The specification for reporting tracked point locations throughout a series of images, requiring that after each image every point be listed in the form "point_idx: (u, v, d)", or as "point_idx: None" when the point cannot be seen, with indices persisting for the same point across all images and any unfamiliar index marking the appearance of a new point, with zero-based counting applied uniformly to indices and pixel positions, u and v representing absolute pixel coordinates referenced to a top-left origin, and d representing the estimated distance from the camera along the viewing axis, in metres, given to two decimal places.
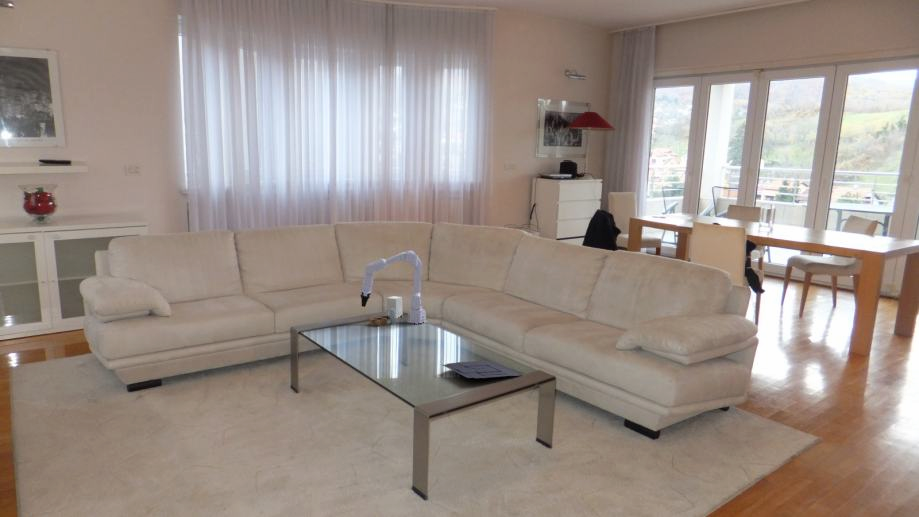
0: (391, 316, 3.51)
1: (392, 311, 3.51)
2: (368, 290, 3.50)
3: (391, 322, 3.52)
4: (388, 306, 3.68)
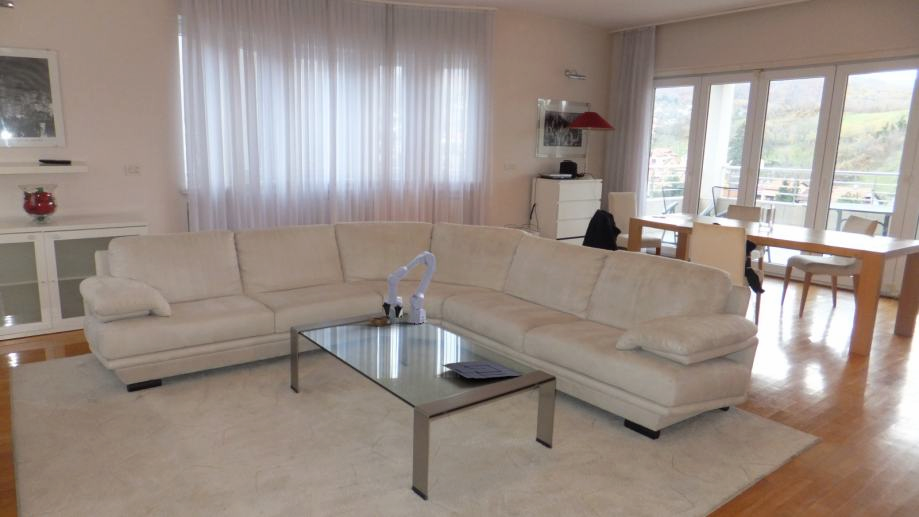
0: (391, 316, 3.51)
1: (392, 311, 3.51)
2: None
3: (391, 322, 3.52)
4: None
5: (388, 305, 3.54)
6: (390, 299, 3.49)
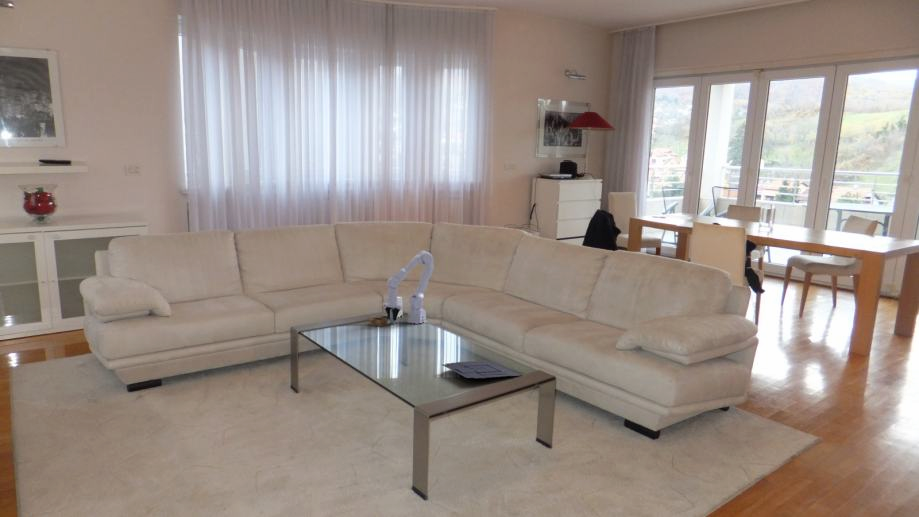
0: (391, 316, 3.51)
1: None
2: None
3: (391, 322, 3.52)
4: None
5: None
6: (390, 302, 3.49)
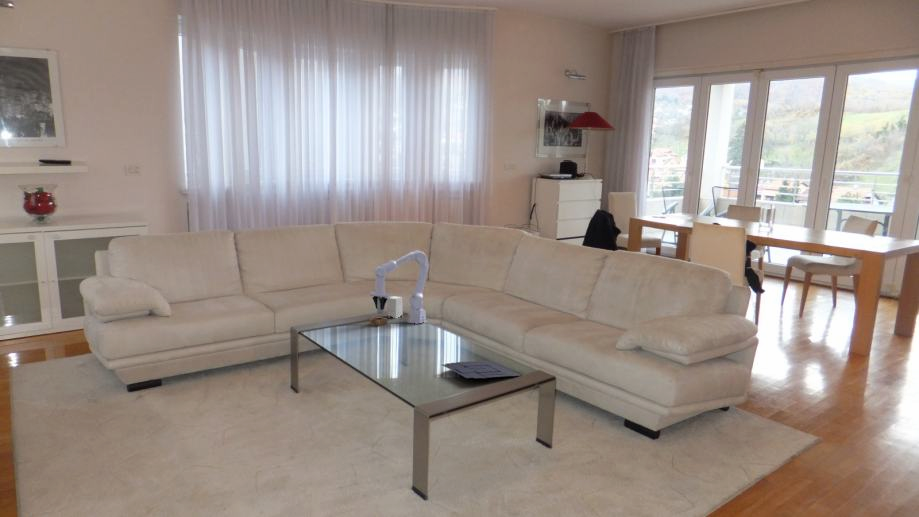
0: (378, 305, 3.48)
1: (379, 300, 3.47)
2: (384, 292, 3.48)
3: (378, 311, 3.48)
4: (388, 306, 3.68)
5: None
6: (377, 291, 3.45)
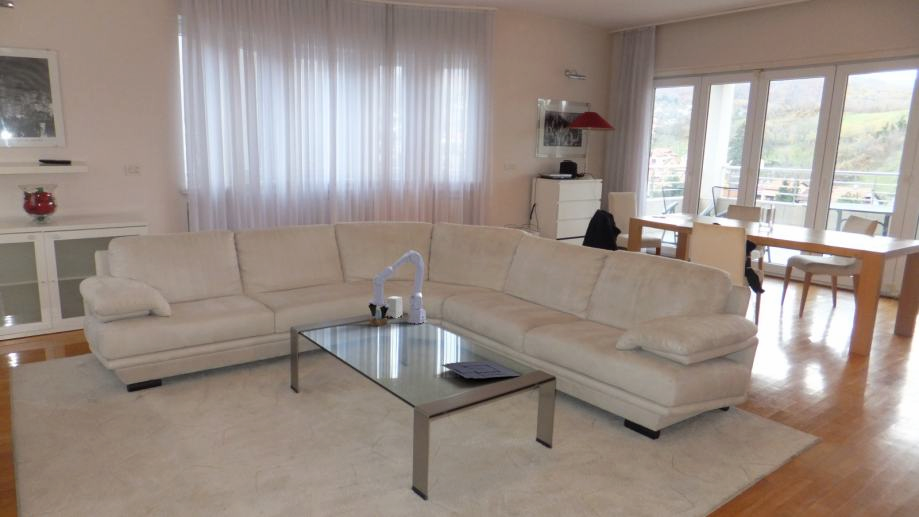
0: (377, 317, 3.48)
1: (378, 312, 3.48)
2: None
3: None
4: None
5: (374, 306, 3.51)
6: (376, 300, 3.46)
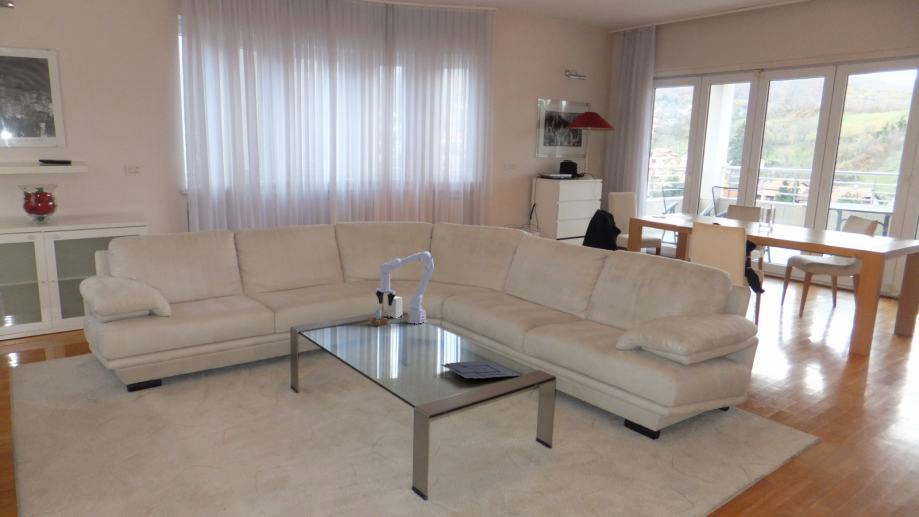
0: (377, 317, 3.48)
1: (378, 312, 3.48)
2: None
3: None
4: (388, 306, 3.68)
5: (381, 293, 3.59)
6: (383, 287, 3.54)
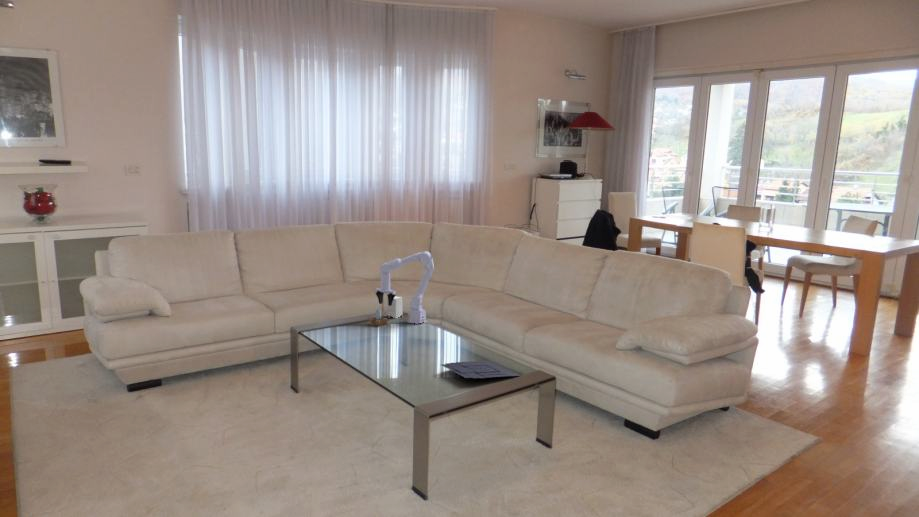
0: (377, 317, 3.48)
1: (378, 312, 3.48)
2: None
3: None
4: (388, 306, 3.68)
5: (381, 293, 3.59)
6: (383, 287, 3.54)
